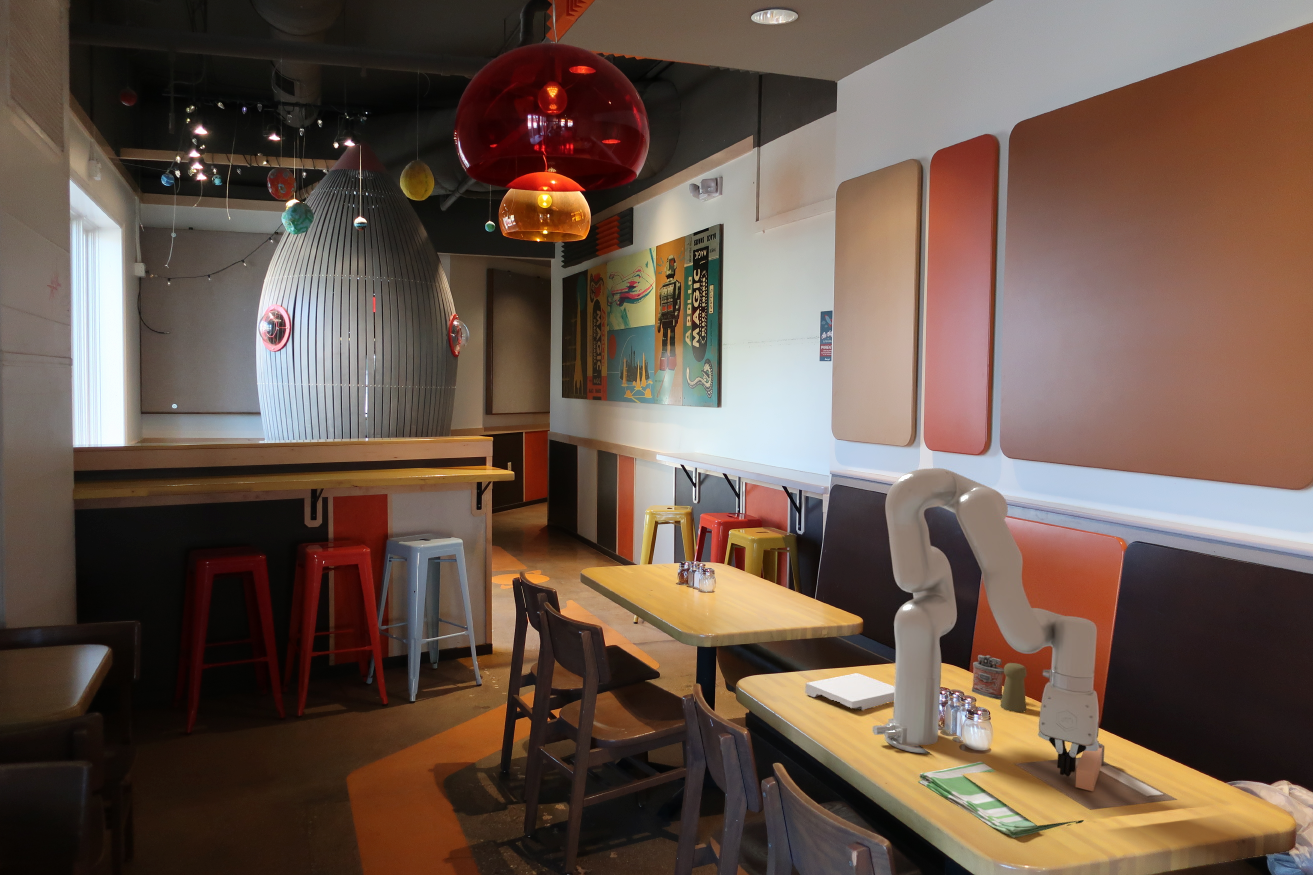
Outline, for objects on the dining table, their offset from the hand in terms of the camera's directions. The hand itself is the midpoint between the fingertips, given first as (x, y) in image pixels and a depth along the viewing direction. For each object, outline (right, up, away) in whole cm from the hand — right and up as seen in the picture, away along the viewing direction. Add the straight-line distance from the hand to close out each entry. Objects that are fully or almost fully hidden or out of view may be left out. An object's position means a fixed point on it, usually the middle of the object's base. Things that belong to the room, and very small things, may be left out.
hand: (1065, 772), depth 165 cm
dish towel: (-17, -3, -8) cm, 19 cm away
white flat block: (-30, 0, +48) cm, 56 cm away
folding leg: (+6, -1, +2) cm, 6 cm away
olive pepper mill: (+8, -2, +44) cm, 45 cm away
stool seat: (+5, -3, -1) cm, 5 cm away
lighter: (+6, -1, +53) cm, 54 cm away
